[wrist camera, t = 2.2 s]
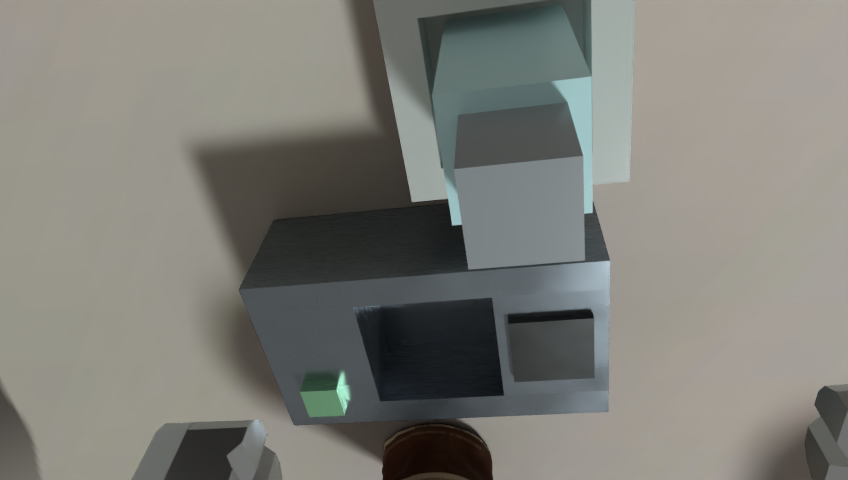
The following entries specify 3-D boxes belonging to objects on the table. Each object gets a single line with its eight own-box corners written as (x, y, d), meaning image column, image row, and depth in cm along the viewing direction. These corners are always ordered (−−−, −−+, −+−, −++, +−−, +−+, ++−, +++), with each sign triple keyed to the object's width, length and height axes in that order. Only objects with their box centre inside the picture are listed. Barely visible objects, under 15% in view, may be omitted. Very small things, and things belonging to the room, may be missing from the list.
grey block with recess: (589, 190, 26) (612, 271, 22) (591, 331, 31) (610, 422, 26) (273, 220, 28) (233, 299, 24) (317, 348, 33) (290, 436, 28)
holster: (618, -75, 21) (636, -59, 18) (615, 144, 25) (629, 181, 23) (381, -38, 22) (369, -19, 19) (418, 165, 26) (411, 202, 24)
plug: (561, 3, 21) (612, 127, 13) (565, 113, 23) (610, 278, 15) (444, 20, 22) (423, 147, 14) (459, 125, 24) (447, 290, 16)
